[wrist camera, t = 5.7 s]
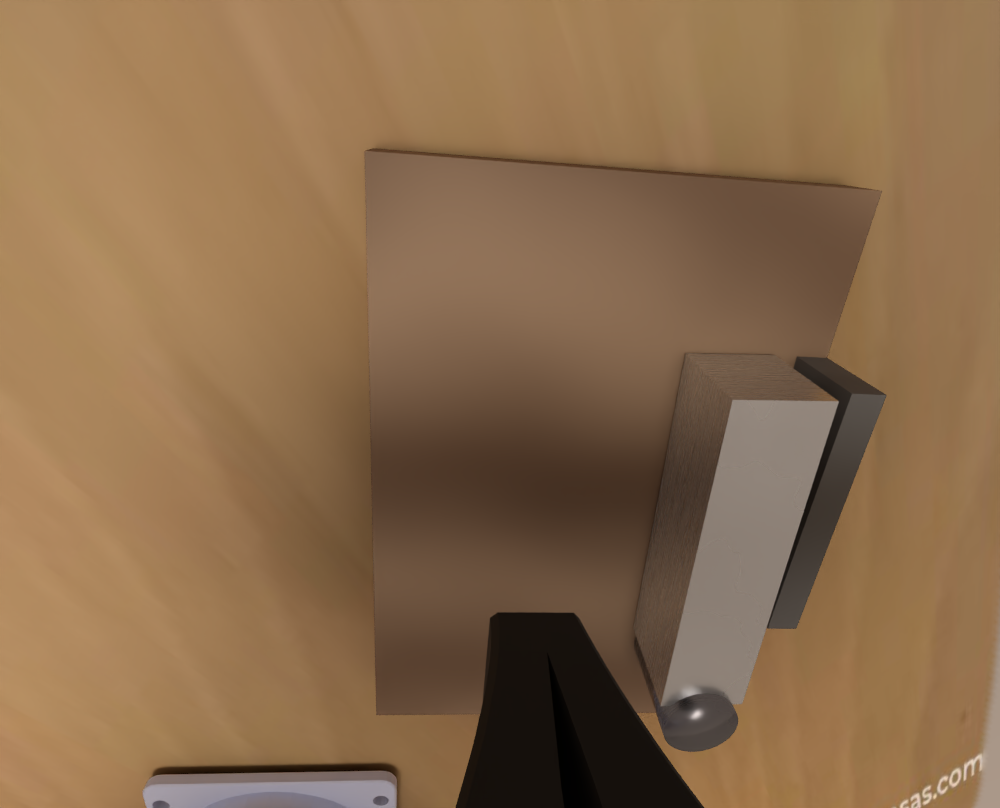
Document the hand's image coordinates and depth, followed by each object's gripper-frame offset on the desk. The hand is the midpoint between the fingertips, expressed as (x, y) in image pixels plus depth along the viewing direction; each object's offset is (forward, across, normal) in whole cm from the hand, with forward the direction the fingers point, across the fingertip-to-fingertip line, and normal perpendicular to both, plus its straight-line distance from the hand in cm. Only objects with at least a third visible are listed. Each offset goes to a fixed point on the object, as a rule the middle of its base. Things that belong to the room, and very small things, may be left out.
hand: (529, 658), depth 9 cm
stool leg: (+5, -5, +1) cm, 7 cm away
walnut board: (+6, -2, 0) cm, 6 cm away
